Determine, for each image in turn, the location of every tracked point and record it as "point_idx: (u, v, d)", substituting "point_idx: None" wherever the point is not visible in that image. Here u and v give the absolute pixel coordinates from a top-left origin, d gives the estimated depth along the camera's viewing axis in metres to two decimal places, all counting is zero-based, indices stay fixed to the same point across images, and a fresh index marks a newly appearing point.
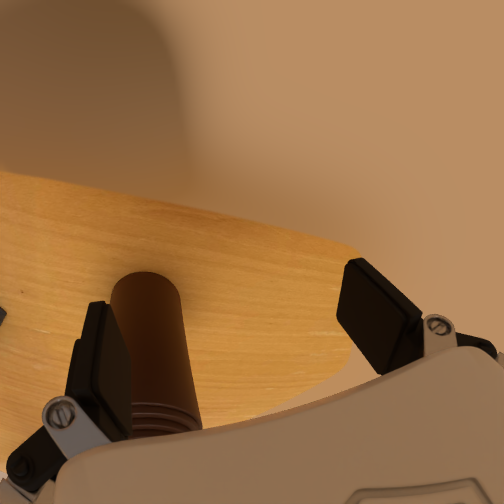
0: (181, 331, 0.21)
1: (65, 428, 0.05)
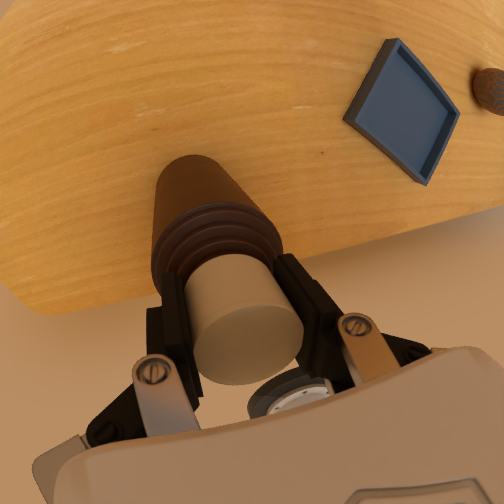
0: None
1: (152, 385, 0.06)
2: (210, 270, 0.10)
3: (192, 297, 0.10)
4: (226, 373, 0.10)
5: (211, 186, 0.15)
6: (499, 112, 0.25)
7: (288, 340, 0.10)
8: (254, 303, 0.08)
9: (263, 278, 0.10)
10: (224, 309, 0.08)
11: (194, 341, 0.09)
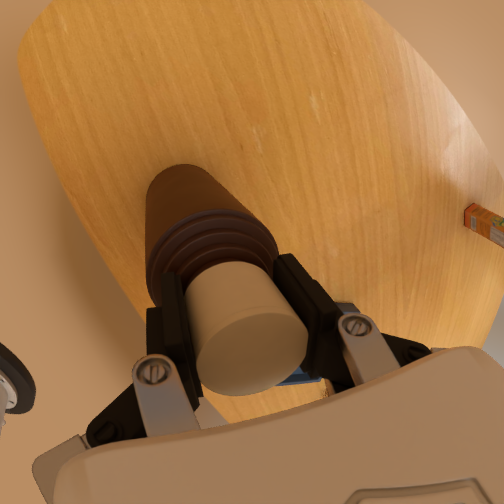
0: (150, 204, 0.18)
1: (152, 385, 0.06)
2: (210, 278, 0.10)
3: (193, 306, 0.10)
4: (230, 384, 0.09)
5: None
6: None
7: (293, 348, 0.09)
8: (259, 311, 0.08)
9: (266, 286, 0.10)
10: (228, 318, 0.08)
11: (197, 352, 0.08)
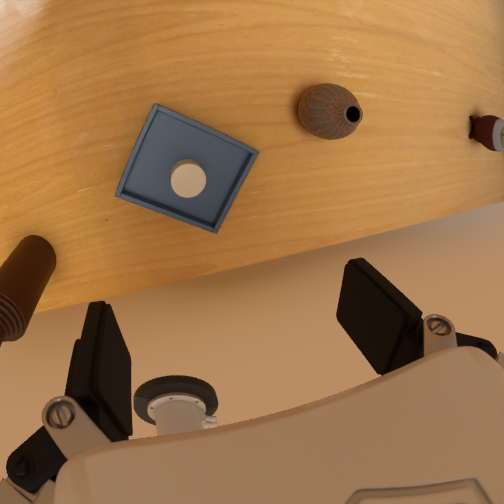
0: None
1: (64, 428, 0.05)
2: (173, 167, 0.32)
3: None
4: (186, 192, 0.31)
5: None
6: (323, 137, 0.31)
7: (198, 173, 0.30)
8: (179, 166, 0.29)
9: (185, 161, 0.31)
10: (173, 171, 0.30)
11: (171, 184, 0.30)
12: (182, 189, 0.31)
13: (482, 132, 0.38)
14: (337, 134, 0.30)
